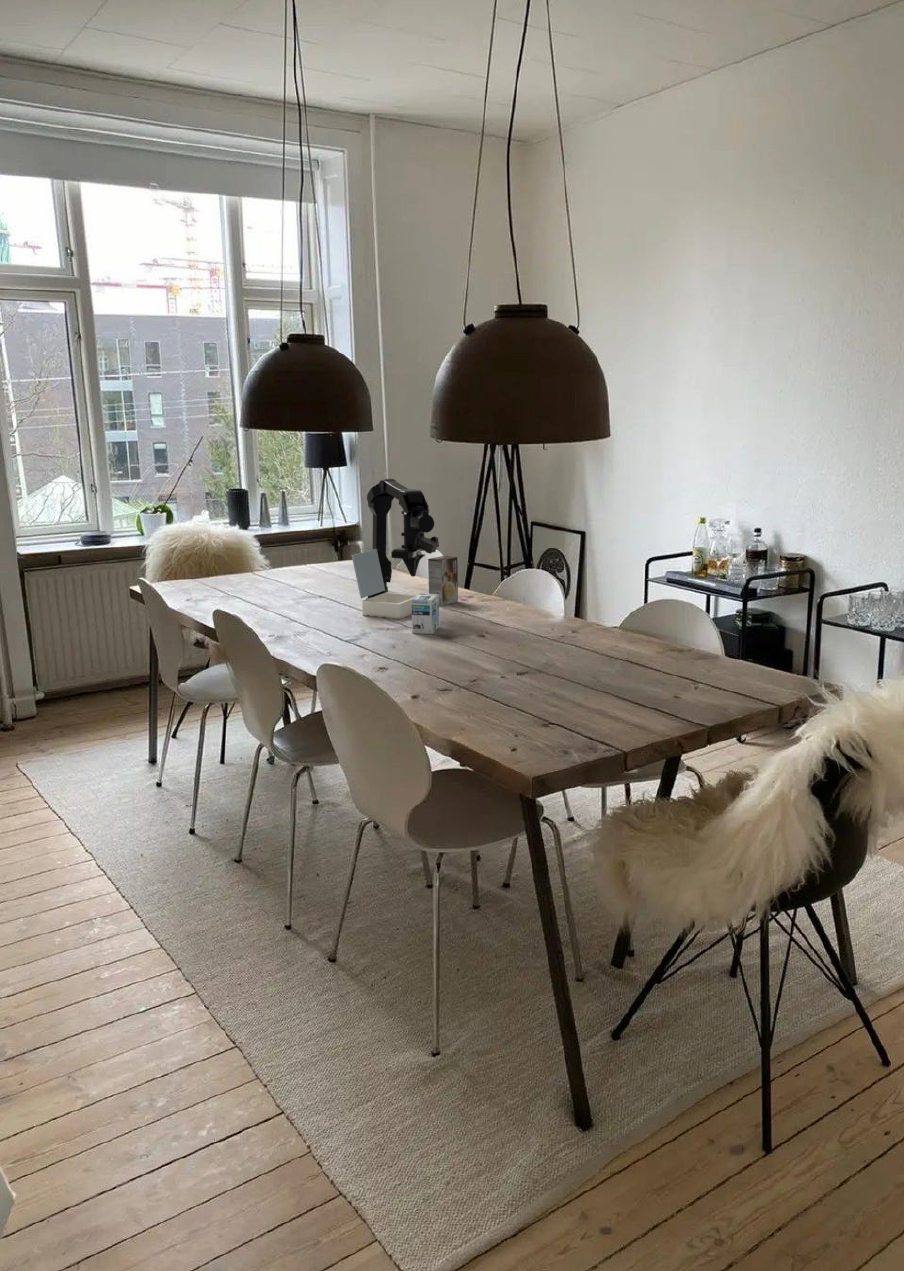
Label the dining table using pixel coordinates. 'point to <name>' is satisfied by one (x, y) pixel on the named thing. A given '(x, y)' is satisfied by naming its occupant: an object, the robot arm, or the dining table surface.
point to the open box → (388, 605)
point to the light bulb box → (425, 613)
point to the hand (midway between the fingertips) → (413, 576)
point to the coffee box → (443, 578)
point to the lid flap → (368, 573)
